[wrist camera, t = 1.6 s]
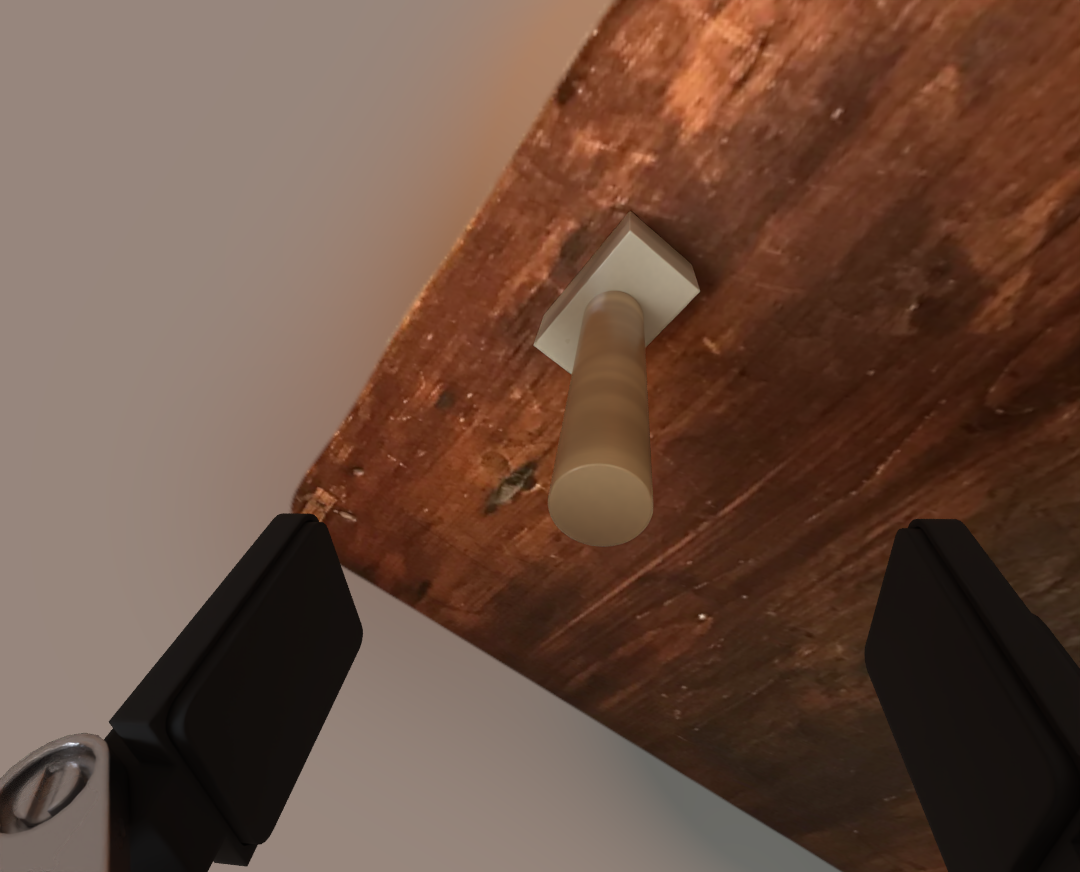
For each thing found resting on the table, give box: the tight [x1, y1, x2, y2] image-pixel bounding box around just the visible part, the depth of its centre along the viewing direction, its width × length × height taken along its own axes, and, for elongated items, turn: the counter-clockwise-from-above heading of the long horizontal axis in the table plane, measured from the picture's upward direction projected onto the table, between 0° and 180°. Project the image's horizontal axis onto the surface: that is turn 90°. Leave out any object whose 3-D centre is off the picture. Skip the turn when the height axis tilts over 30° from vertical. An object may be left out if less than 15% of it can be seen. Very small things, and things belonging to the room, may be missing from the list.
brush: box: [534, 211, 700, 546], centre depth 17 cm, size 5×3×13 cm, turn 143°
